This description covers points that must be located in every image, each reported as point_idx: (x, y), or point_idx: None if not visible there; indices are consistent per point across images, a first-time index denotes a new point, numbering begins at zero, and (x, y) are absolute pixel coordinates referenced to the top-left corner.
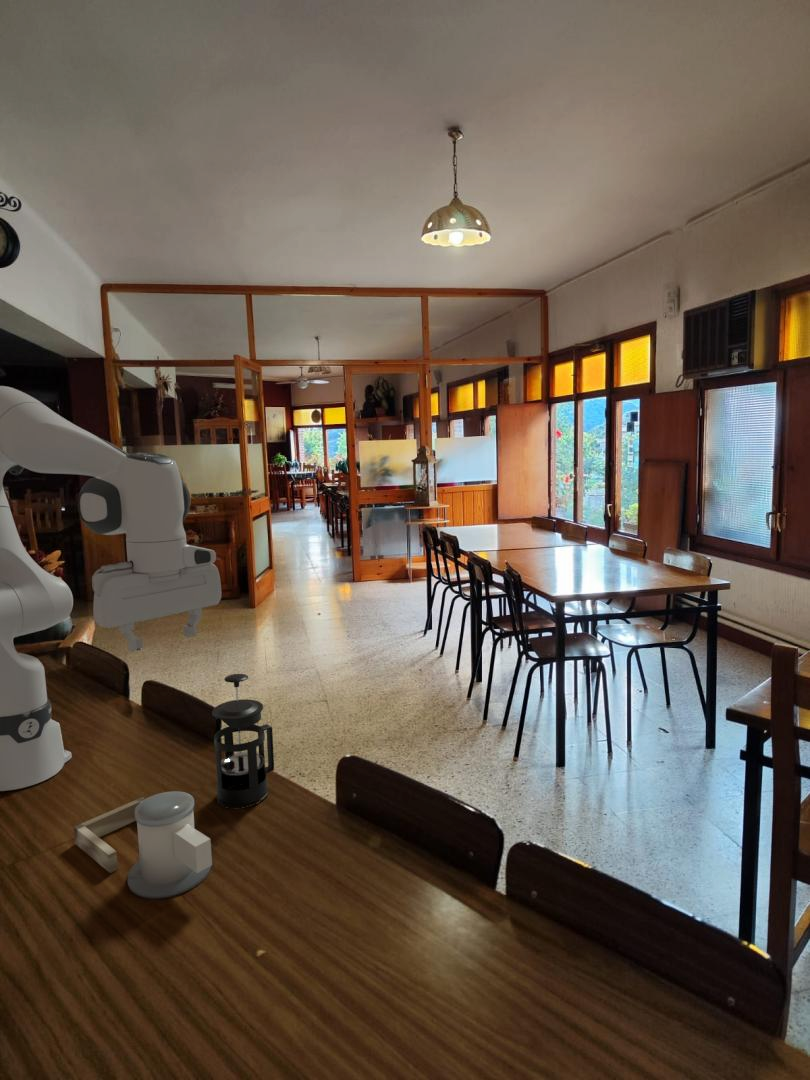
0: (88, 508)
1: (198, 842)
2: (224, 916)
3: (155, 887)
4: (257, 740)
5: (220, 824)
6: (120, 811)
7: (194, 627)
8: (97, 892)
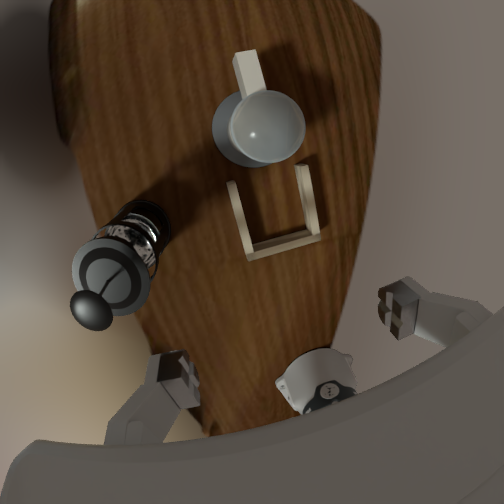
0: None
1: (249, 55)
2: (233, 40)
3: None
4: (102, 227)
5: (181, 182)
6: (275, 245)
7: (154, 376)
8: (316, 141)
